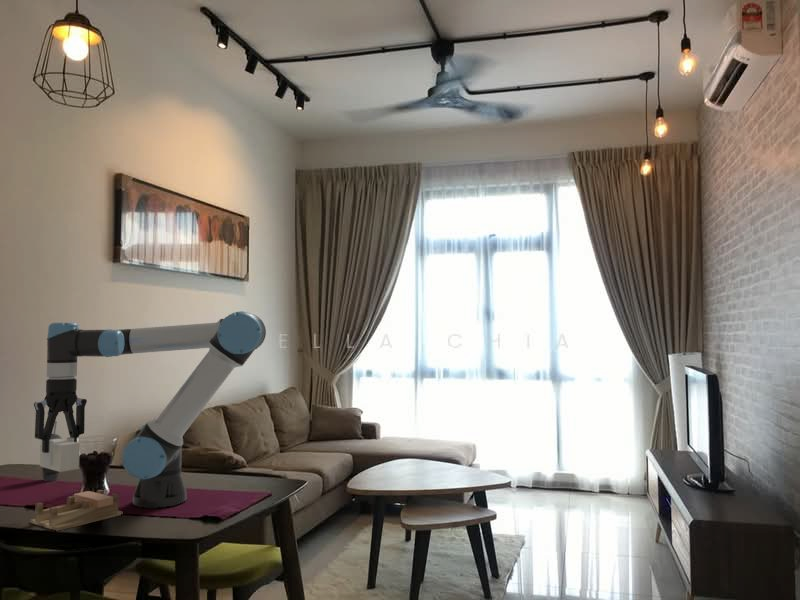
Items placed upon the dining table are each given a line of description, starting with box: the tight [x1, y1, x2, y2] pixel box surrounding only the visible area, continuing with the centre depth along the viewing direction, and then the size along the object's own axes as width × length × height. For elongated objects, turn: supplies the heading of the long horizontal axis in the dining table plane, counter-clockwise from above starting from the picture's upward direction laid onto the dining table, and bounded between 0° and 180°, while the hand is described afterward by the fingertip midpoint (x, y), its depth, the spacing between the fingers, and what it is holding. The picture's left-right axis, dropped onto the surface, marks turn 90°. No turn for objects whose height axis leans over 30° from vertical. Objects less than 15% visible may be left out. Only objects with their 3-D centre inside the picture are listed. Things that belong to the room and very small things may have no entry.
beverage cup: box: [41, 420, 63, 482], centre depth 222 cm, size 7×7×20 cm
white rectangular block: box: [39, 438, 81, 473], centre depth 178 cm, size 12×5×7 cm, turn 53°
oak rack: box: [30, 489, 124, 532], centre depth 175 cm, size 13×18×5 cm
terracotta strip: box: [72, 490, 113, 508], centre depth 179 cm, size 12×4×2 cm, turn 57°
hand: (59, 462), depth 178 cm, fingers closed on white rectangular block, 5 cm apart
